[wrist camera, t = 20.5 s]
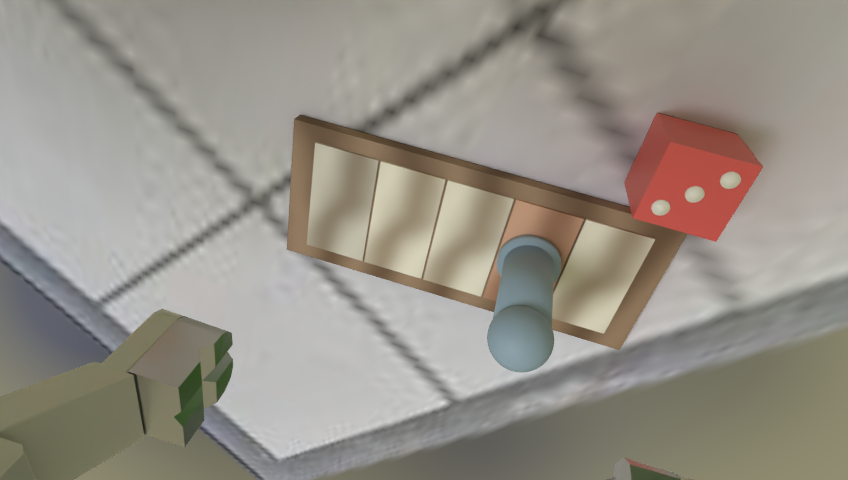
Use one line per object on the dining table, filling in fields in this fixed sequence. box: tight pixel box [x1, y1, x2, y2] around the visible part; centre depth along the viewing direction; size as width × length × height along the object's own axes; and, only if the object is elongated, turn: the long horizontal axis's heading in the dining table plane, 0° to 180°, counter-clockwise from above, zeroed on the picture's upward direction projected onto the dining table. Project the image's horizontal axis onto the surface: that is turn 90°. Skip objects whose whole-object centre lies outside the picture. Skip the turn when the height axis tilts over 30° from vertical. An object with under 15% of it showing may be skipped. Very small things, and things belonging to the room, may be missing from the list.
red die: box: [624, 113, 763, 241], centre depth 38 cm, size 6×6×6 cm
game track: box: [287, 115, 687, 350], centre depth 48 cm, size 34×14×1 cm, turn 79°
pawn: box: [487, 234, 561, 372], centre depth 41 cm, size 6×6×13 cm
